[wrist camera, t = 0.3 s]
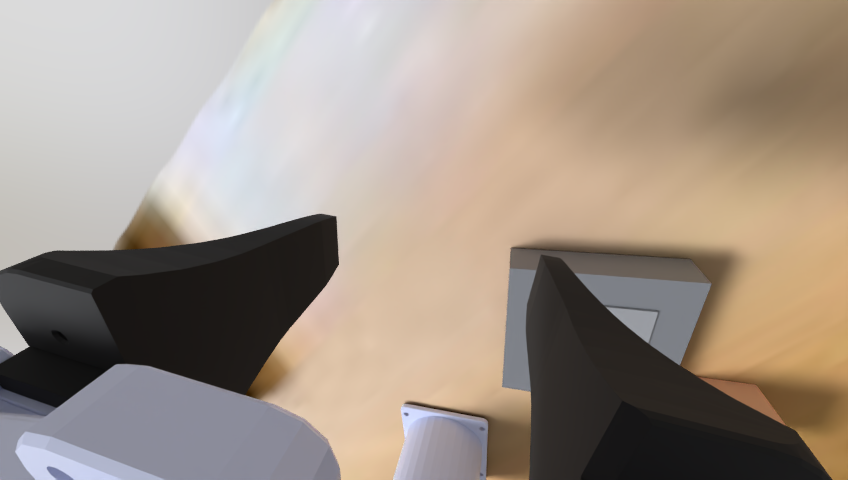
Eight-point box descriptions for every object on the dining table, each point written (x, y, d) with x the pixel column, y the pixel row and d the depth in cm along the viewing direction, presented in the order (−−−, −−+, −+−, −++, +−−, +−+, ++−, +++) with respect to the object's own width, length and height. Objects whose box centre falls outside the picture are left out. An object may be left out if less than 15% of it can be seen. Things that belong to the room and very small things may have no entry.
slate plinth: (648, 381, 24) (662, 414, 22) (503, 360, 26) (502, 388, 24) (690, 259, 19) (713, 285, 17) (510, 248, 22) (509, 269, 20)
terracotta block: (734, 423, 24) (781, 503, 20) (669, 413, 25) (700, 486, 20) (755, 384, 22) (813, 462, 18) (685, 374, 23) (722, 446, 19)
